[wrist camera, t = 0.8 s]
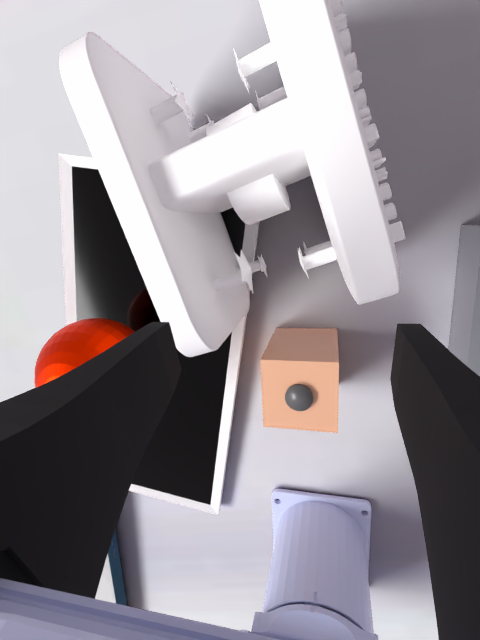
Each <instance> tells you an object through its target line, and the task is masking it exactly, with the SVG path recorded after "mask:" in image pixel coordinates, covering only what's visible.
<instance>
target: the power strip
mask: <svg viewBox="0 0 480 640" xmlns="http://www.w3.org/2000/svg"><path fill="white" fill-rule="evenodd" d="M449 351H450V352H451V353H452V354H454V355H455V356H456V357H457V358H458V359H459V360H460V361H462V362H463V363H464V364H465V365H466V366H467V367H469V368H470V369H471V370H472V371H474V372H475V373H476V374H477V375H478V376H480V224H475V225H461V232H460V242H459V251H458V261H457V271H456V281H455V291H454V301H453V311H452V321H451V330H450V340H449Z"/></svg>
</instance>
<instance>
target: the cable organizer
mask: <svg viewBox="0 0 480 640" xmlns="http://www.w3.org/2000/svg"><path fill="white" fill-rule="evenodd" d="M259 3H260V6H261V10H262V13H263V17H264V20H265V23H266V27H267V30H268V34H269V37H270V41H271V42H270V43H269V44H267V45H265V46H263V47H261V48H259V49H257V50H256V51H254V52H252V53H250V54H248V55H246V56H244V57H242V58H241V59H239V60H238V57H237V55H236V53H235V50H234V48H233V50H234V54H235V59H236V63H237V67H238V71H239V75H240V77H241V79H242V80H243V82H244V84H245V86H246V88H247V90H248V87H249V84H248V82H247V79H246V77H247V76H249V75H251V74H253V73H254V72H256V71H258V70H260V69H262V68H264V67H266V66H268V65H270V64H272V63H274V62H276V61H277V65H278V68H279V72H280V75H281V78H282V82H283V85H284V86H283V87H281V88H279V89H277V90H275V91H273V92H271V93H269V94H267V95H265V96H263V97H261V98H258V95H257V93H256V97H257V102H258V107H259V110H260V111H258V112H257V111H256V109H255V108H254V106H253V105H252V103H250V104H248V105H246V106H245V107H243V108H241V109H239V110H237V111H236V112H234V113H232V114H230V115H228V116H227V117H225V118H223V119H221V120H220V121H218V122H216V123H214V120H212V121H211V120H210V118H209V117H208V116H207V118H208V120H209V123H208V124H206V125H204V126H202V127H200V128H198V129H196V130H194V131H192V129H191V127H190V124H189V123H190V119H189V115H191V116H193V114H192V112H191V110H190V108H189V106H188V104H187V103H186V100H185V97H184V93H183V92H182V93H179V92H178V90H177V89H176V88H175V86H174V85H173V84H172V82H171V84H172V86H173V88H174V91H175V93H176V95H175V96H171V95H170V94H169V93H168V92H167V91H165V90H164V89H163V88H162V87H161V86H159V85H158V84H157V83H156V82H155V81H153V80H152V79H151V78H150V77H148V76H147V75H146V74H145V73H144V72H142V71H141V70H140V69H139V68H137V67H136V66H135V65H134V64H133V63H131V62H130V61H129V60H128V59H127V58H125V57H124V56H123V55H122V54H120V53H119V52H118V51H117V50H116V49H114V48H113V47H112V46H111V45H109V44H108V43H107V42H106V41H105V40H103V39H102V38H101V37H100V36H98V35H97V34H95V33H93V32H88V33H86V34H85V35H83V36H82V37H80V38H79V39H77V40H76V41H74V42H73V43H71V44H69V45H68V46H66V47H65V48H63V49H62V50H61V52H60V55H59V65H60V72H61V76H62V80H63V83H64V87H65V89H66V92H67V95H68V97H69V100H70V102H71V104H72V107H73V109H74V112H75V114H76V117H77V119H78V121H79V124H80V126H81V129H82V131H83V134H84V136H85V139H86V141H87V143H88V146H89V148H90V151H91V153H92V156H93V158H94V160H95V163H96V165H97V168H98V170H99V173H100V175H101V178H102V180H103V182H104V185H105V187H106V190H107V192H108V195H109V197H110V199H111V202H112V204H113V207H114V209H115V212H116V214H117V217H118V219H119V221H120V224H121V226H122V229H123V231H124V234H125V236H126V238H127V241H128V243H129V246H130V248H131V251H132V253H133V256H134V258H135V260H136V263H137V265H138V268H139V270H140V273H141V275H142V277H143V280H144V282H145V285H146V287H147V290H148V292H149V295H150V297H151V299H152V302H153V304H154V307H155V309H156V312H157V314H158V316H159V319H160V321H161V322H169V323H170V327H171V331H172V334H173V338H174V342H175V346H176V348H177V350H178V351H179V352H181V353H182V354H183V355H185V356H187V357H194V356H198V355H201V354H205V353H208V352H212V351H215V350H217V349H218V348H219V347H220V346H221V345H222V343H223V342H224V341H225V340H226V338H227V337H228V336H229V335H230V333H231V332H232V331H233V330H234V328H235V327H236V326H237V325H238V323H239V322H240V321H241V320H242V318H243V317H244V316H245V315H246V314H247V312H248V311H249V308H250V299H249V293H248V290H247V286H246V283H248V285H249V287H250V289H251V291H252V293H253V286H252V273H253V272H256V271H259V270H261V272H264V273H265V275H266V277H267V272H266V268H267V266H266V264H265V262H264V259H263V257H262V254H261V258H260V257H259V256H257V257H258V259H259V260H256V261H253V262H250V263H248V262H247V260H246V258H245V256H244V254H243V252H242V250H241V254H240V257H239V256H238V255H237V254H236V253H235V251H234V248H233V246H232V243H231V240H230V237H229V235H228V232H227V229H226V226H225V224H224V221H223V218H222V215H221V212H223V211H225V210H228V209H230V208H234V210H235V212H236V213H237V215H238V216H239V217H240V219H241V220H242V221H243V222H245V223H246V224H248V225H252V224H254V223H257V222H259V221H262V220H265V219H267V218H270V217H272V216H275V215H278V214H280V213H283V212H285V211H288V210H290V200H289V196H288V192H287V189H286V186H287V185H289V184H292V183H294V182H297V181H299V180H302V179H304V178H306V177H309V176H311V178H312V181H313V184H314V188H315V191H316V194H317V198H318V201H319V204H320V208H321V211H322V214H323V218H324V221H325V224H326V227H327V231H328V234H329V237H330V241H327V242H324V243H321V244H319V245H316V246H313V247H310V248H306V244H305V241H304V242H303V245H304V252H305V255H306V256H302V252H301V249H300V251H299V250H298V254H299V260H300V264H301V266H302V268H303V270H304V271H305V273H306V275H307V277H308V274H307V270H308V269H311V268H314V267H317V266H320V265H323V264H326V263H329V262H333V261H336V260H337V261H338V264H339V267H340V269H341V272H342V275H343V277H344V280H345V282H346V285H347V287H348V289H349V291H350V293H351V295H352V297H353V298H354V300H355V301H356V303H358V304H359V305H361V304H364V303H368V302H371V301H375V300H378V299H382V298H385V297H389V296H392V295H396V294H397V293H399V290H400V272H399V264H398V258H397V253H396V248H395V244H394V243H395V242H398V241H401V240H404V239H406V237H405V233H404V229H403V226H402V222H401V221H398V222H395V223H392V224H390V225H389V221H390V220H393V219H396V218H397V211H396V208H395V205H394V204H393V203H392V202H391V203H388V204H385V205H384V202H383V201H385V200H388V199H390V198H391V197H392V193H391V188H390V185H389V184H388V182H385V183H382V184H380V185H379V184H378V182H379V181H381V180H384V179H387V174H388V171H386V169H385V167H383V168H380V169H378V170H375V169H376V168H378V167H380V166H381V165H382V164H383V163H384V162H385V161H386V158H385V157H384V158H382V154H381V151H380V149H379V148H378V149H375V150H373V151H370V150H369V148H370V147H373V146H374V144H375V143H376V142H377V140H378V139H379V134H378V130H377V127H376V124H375V123H372V124H370V125H369V123H370V121H371V119H372V116H371V115H370V108H369V106H368V107H367V97H366V93H365V90H364V89H363V88H362V89H360V90H358V91H356V92H354V90H356V89H358V88H359V86H360V84H361V83H362V72H360V70H359V69H358V70H357V59H356V55H355V53H354V52H352V53H351V36H350V32H349V29H348V28H347V14H345V13H343V10H342V2H341V0H259ZM346 28H347V29H346ZM249 88H250V87H249ZM248 92H249V90H248ZM255 92H256V91H255ZM183 111H184V112H183ZM184 113H185V114H184ZM185 115H186V116H185ZM206 115H207V114H206ZM186 117H187V118H186ZM193 117H194V116H193ZM187 119H188V120H187ZM188 121H189V122H188ZM299 248H300V246H299ZM297 249H298V248H297ZM267 279H268V278H267ZM308 279H309V278H308Z"/></svg>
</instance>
